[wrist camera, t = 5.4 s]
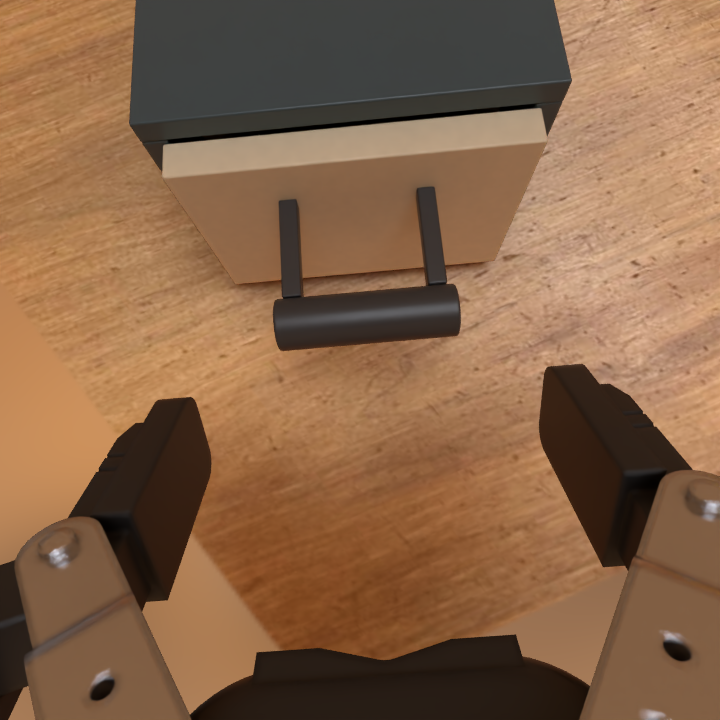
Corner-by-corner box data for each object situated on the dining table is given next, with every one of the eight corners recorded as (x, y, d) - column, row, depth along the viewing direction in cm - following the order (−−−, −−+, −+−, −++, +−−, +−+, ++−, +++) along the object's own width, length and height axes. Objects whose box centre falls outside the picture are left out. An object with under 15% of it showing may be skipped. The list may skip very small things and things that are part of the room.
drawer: (512, 372, 21) (581, 301, 14) (236, 395, 21) (155, 338, 14) (455, 18, 26) (484, -178, 19) (232, 40, 26) (171, -143, 19)
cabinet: (500, 245, 24) (573, 80, 14) (227, 270, 24) (128, 124, 15) (459, -2, 28) (496, -256, 18) (225, 22, 28) (146, -215, 19)
